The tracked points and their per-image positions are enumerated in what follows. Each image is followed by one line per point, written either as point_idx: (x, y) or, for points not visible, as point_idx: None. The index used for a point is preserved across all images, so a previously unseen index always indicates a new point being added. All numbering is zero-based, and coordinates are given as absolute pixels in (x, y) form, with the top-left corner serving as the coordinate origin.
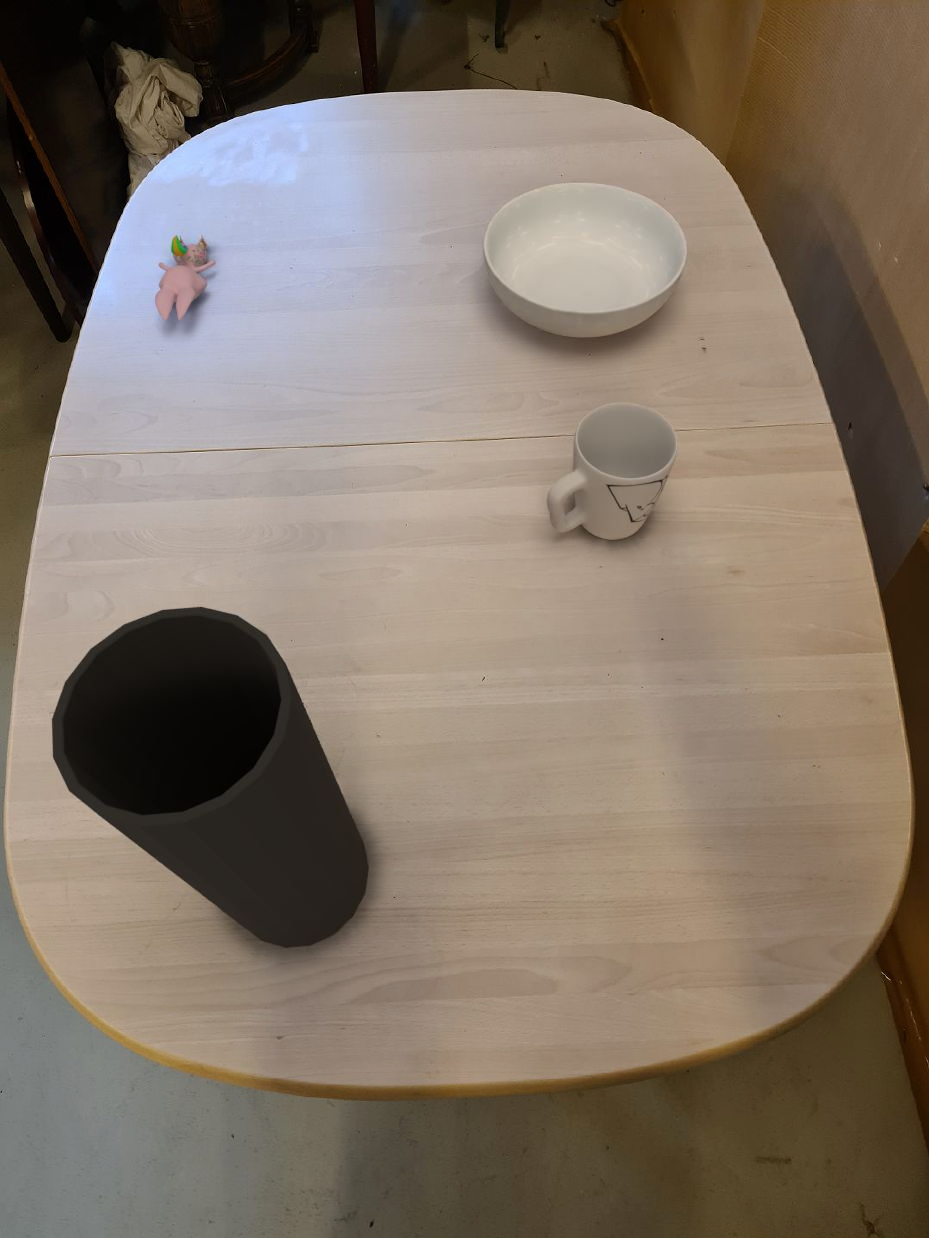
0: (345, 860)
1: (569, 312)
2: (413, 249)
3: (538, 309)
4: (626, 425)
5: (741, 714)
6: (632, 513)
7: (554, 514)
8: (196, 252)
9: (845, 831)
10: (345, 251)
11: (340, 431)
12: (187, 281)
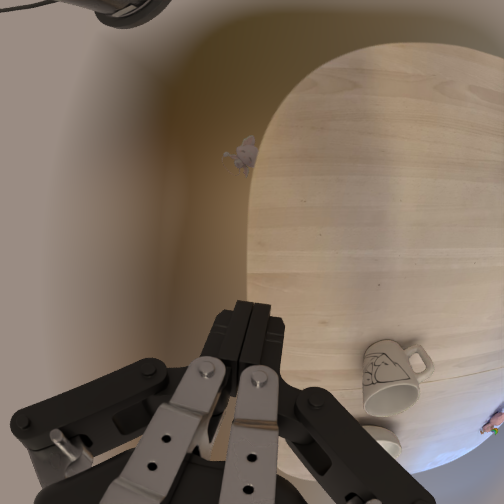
0: None
1: (377, 440)
2: (412, 443)
3: (389, 439)
4: (379, 403)
5: (344, 236)
6: (388, 359)
7: (429, 357)
8: (487, 429)
9: (292, 158)
10: (437, 439)
11: (478, 377)
12: (498, 421)
